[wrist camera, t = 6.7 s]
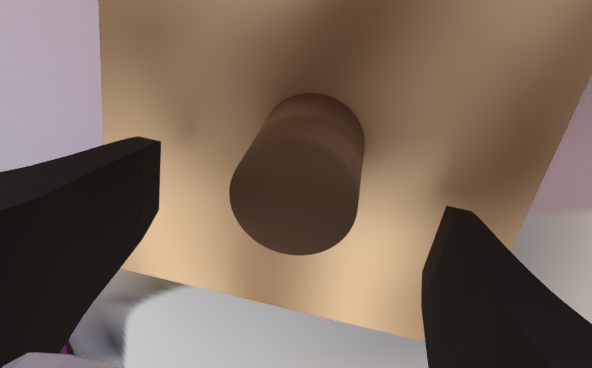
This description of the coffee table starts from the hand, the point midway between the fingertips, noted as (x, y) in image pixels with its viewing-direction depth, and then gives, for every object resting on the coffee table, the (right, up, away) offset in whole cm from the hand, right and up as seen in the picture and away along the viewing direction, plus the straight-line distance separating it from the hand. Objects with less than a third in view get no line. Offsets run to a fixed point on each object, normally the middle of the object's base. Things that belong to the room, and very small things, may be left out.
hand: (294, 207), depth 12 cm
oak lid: (+1, +2, +3) cm, 4 cm away
